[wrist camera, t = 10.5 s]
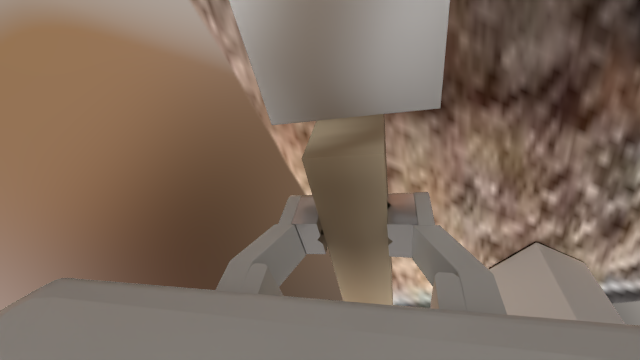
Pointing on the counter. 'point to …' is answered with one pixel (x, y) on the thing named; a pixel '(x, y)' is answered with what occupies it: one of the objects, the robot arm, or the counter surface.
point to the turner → (347, 108)
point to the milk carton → (552, 287)
